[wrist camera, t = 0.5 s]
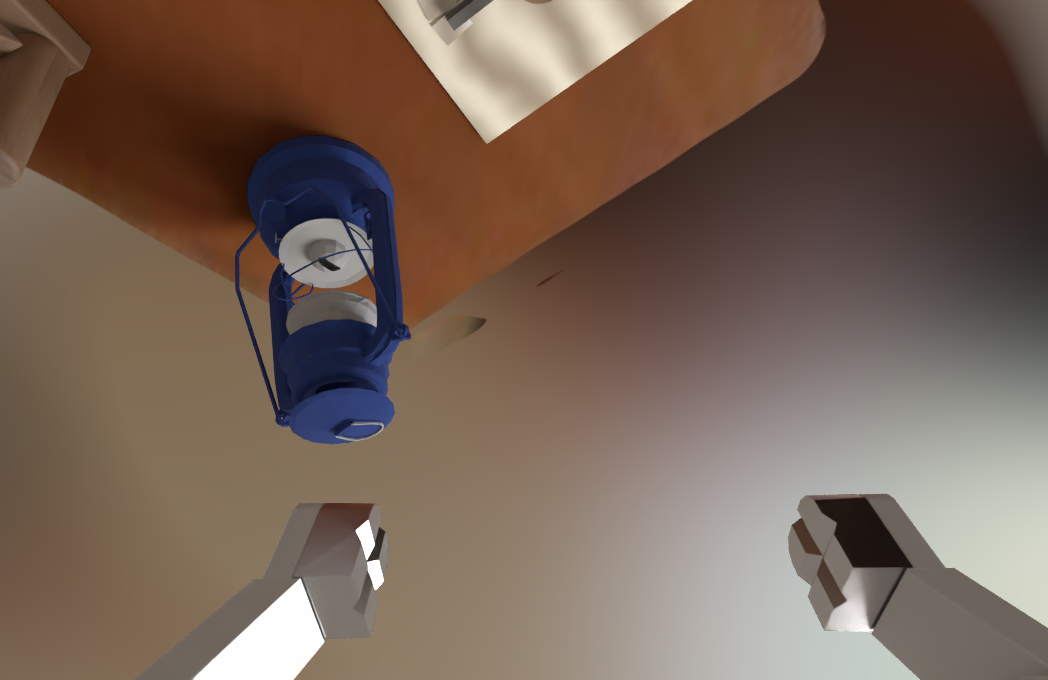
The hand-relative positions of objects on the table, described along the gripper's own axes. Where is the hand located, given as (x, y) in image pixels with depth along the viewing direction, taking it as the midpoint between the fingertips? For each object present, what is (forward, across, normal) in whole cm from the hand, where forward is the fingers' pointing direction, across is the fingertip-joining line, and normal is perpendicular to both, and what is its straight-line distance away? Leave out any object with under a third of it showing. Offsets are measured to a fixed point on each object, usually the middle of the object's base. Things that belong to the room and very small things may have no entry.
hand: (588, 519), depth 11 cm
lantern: (+53, +24, +10) cm, 59 cm away
